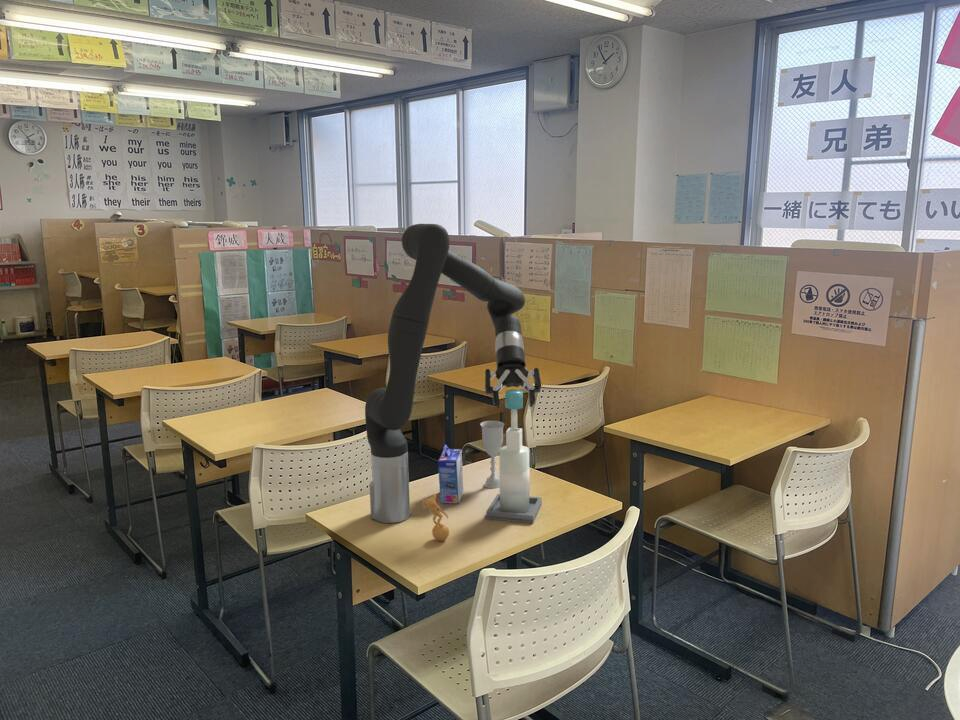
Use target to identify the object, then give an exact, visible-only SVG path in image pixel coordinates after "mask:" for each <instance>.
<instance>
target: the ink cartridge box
mask: <svg viewBox="0 0 960 720" xmlns="http://www.w3.org/2000/svg"><path fill="white" fill-rule="evenodd" d="M442 449H443V450H442V452H441V454H440V456H439V458H438V461H437V465H438V479H439V481H438V483H439V485H438V486H439V496H440V499H439V500H440V503H441V504H460V502H461V500H462V499H461V498H462V495H463V493H464V474H463V455H462V453H463V452H462V451H463V450H462V449H461V448H449V446H448V445H447V444H444V446H443V448H442Z"/></svg>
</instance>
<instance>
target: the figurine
mask: <svg viewBox="0 0 960 720" xmlns="http://www.w3.org/2000/svg"><path fill="white" fill-rule="evenodd" d="M436 499H437V495H436V494H435V493H433V494H432V495H431V496H430V497H428V498H426V499H423V500H421V503H422V508H423V509H429V512H430V514H432V515H433V517H432V520H433V523H434V524H435V525H434V526H433V528H432V531H431V533H432V537H433V538H434V539H435V540H436V541H438V542H439V541H440V542H441V541H446V540H447V538H448V537H449V535H450V529H449V527H448V526H447V525H446V524H445V523H440V522H441V520H442V518H443V515H444V516H445V517H446V519H449V516H448V514H447V513H446V512H445V511H444V510H443V508H441V507H440V505H439V504H437V501H436ZM437 509H438V510H437ZM437 517H438V519H437ZM436 519H437V521H436Z"/></svg>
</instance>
